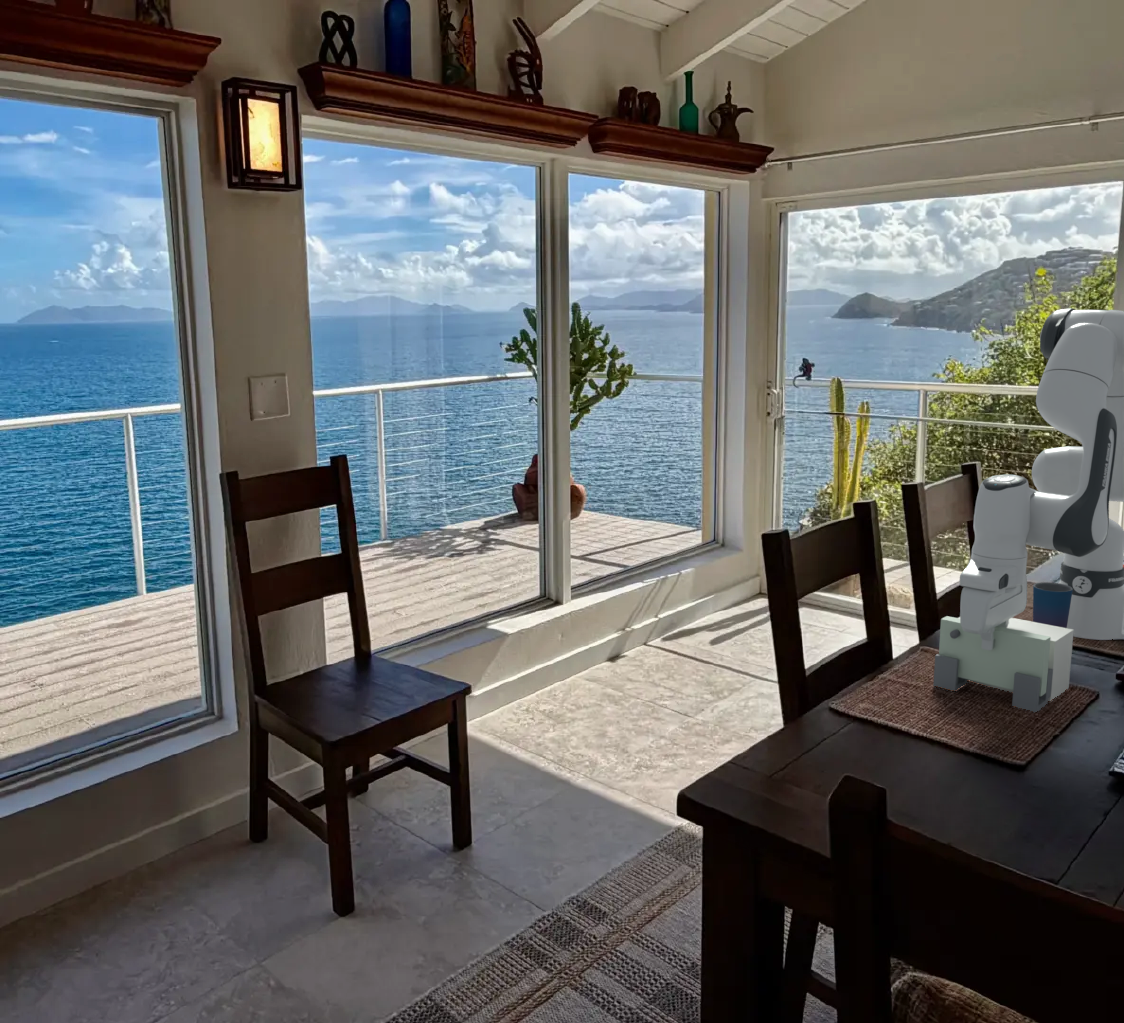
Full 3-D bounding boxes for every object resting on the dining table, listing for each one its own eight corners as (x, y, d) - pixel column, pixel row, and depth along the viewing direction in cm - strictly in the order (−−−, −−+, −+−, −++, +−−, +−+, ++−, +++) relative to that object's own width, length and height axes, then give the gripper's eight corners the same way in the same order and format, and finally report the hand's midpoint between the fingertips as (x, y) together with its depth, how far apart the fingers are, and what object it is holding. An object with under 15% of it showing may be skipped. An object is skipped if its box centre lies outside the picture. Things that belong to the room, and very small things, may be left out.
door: (943, 668, 186) (946, 616, 184) (1046, 692, 174) (1050, 636, 172) (934, 673, 184) (937, 620, 182) (1038, 698, 171) (1042, 642, 169)
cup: (1058, 656, 199) (1064, 582, 196) (1071, 668, 193) (1078, 591, 190) (1022, 655, 200) (1028, 582, 197) (1034, 667, 193) (1040, 591, 190)
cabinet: (969, 665, 195) (973, 610, 193) (1068, 688, 182) (1073, 629, 180) (933, 686, 184) (936, 628, 182) (1036, 712, 172) (1041, 650, 169)
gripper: (1003, 556, 185) (998, 629, 187) (955, 577, 170) (950, 656, 173) (1039, 561, 180) (1033, 636, 183) (992, 584, 166) (987, 664, 169)
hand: (992, 646), depth 178 cm, fingers closed on door, 2 cm apart
